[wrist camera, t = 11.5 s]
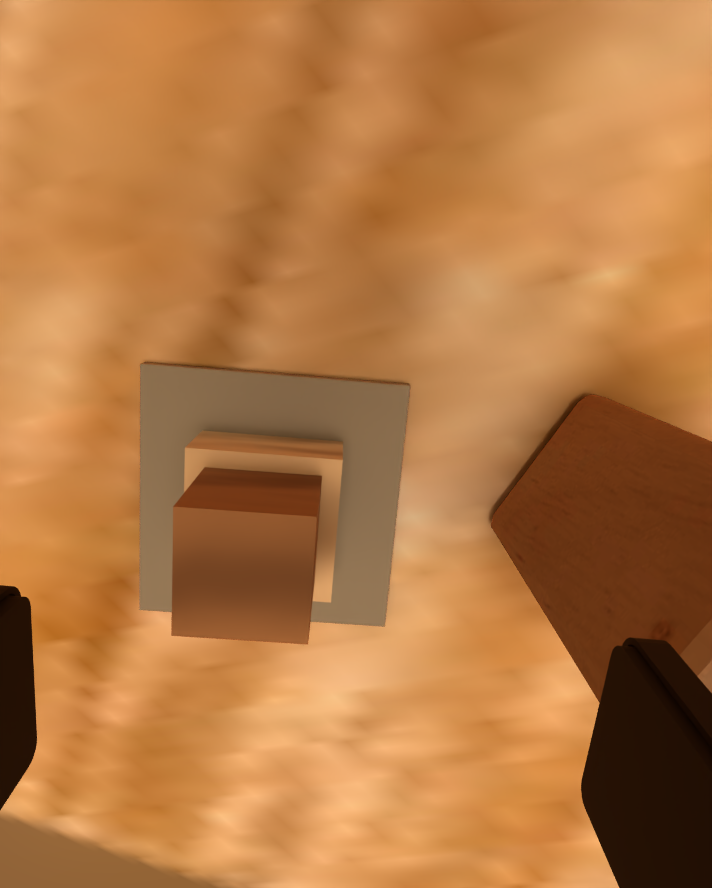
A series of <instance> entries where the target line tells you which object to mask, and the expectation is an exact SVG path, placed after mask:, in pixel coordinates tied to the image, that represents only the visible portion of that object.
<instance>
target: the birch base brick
mask: <svg viewBox="0 0 712 888" xmlns="http://www.w3.org/2000/svg"><path fill="white" fill-rule="evenodd" d="M342 463H343V442H342V441H329V440H316V439H304V438H291V437H278V436H265V435H253V434H240V433H227V432H215V431H201V432H200V433H199V434H198V435H197V436H196V437H195V438H194V439H193V440H192V441H191V442H190V443H189V444H188V445H187V446H186V447H185V469H184V492H185V491H186V490H187V489H188V487H189V486H190V485H191V484H192V482H193V481H194V480H195V479H196V477H197V476H198V475H199V474H200V472H201V471H202V470H203V469H204V467H209V468H223V469H236V470H250V471H264V472H277V473H291V474H305V475H318V476H322V485H321V499H320V513H319V527H318V541H317V555H316V569H315V583H314V592H313V601H316V602H330V603H331V596H332V584H333V572H334V560H335V548H336V536H337V524H338V511H339V499H340V487H341V475H342Z"/></svg>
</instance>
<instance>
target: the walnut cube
mask: <svg viewBox="0 0 712 888" xmlns="http://www.w3.org/2000/svg"><path fill="white" fill-rule="evenodd" d="M321 485H322V476H318V475H305V474H291V473H277V472H264V471H250V470H236V469H223V468H209V467H204V469H203V470H202V471H201V472H200V474H199V475H198V476H197V477H196V479H195V480H194V481H193V482H192V484H191V485H190V486H189V487H188V489H187V490H186V491H185V492H184V494H183V495H182V496H181V497H180V499H179V500H178V501H177V502H176V504H175V505H174V506H173V558H172V636H184V637H200V638H216V639H231V640H247V641H263V642H278V643H294V644H308V639H309V630H310V621H311V611H312V602H313V592H314V583H315V569H316V555H317V541H318V527H319V513H320V499H321Z"/></svg>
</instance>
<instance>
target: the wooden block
mask: <svg viewBox="0 0 712 888" xmlns="http://www.w3.org/2000/svg"><path fill="white" fill-rule="evenodd" d="M491 527H492V528H493V530H494V532H495V533H496V535H497V537H498V538H499V540H500V541H501V543H502V545H503V546H504V548H505V550H506V551H507V553H508V554H509V556H510V558H511V559H512V561H513V563H514V564H515V566H516V567H517V569H518V571H519V572H520V574H521V576H522V577H523V579H524V580H525V582H526V584H527V585H528V587H529V589H530V590H531V592H532V593H533V595H534V597H535V598H536V600H537V602H538V603H539V605H540V606H541V608H542V610H543V611H544V613H545V615H546V616H547V618H548V620H549V621H550V623H551V624H552V626H553V628H554V629H555V631H556V633H557V634H558V636H559V637H560V639H561V641H562V642H563V644H564V646H565V647H566V649H567V650H568V652H569V654H570V655H571V657H572V659H573V660H574V662H575V663H576V665H577V667H578V668H579V670H580V672H581V673H582V675H583V676H584V678H585V680H586V681H587V683H588V685H589V686H590V688H591V689H592V691H593V693H594V694H595V696H596V698H597V699H598V701H599V702H600V700H601V695H602V691H603V687H604V683H605V678H606V674H607V670H608V665H609V661H610V657H611V653H612V650H613V649H614V647H615V646H617V645H618V646H622V644H623V642H624V641H625V640H626V639H627V638H629V637H632V638H644V639H656V640H664V641H667V642H668V643H669V644H670V645H671V646H672V647H673V648H674V649H675V651H676V652H677V653H678V654H679V655H680V657H681V658H682V659H683V660H684V661H685V662H686V664H687V665H688V666H689V667H690V668H691V669H692V671H693V672H694V673H695V674H696V675H697V677H698V678H699V679H700V680H701V681H702V682H703V684H704V685H705V686H706V687H707V688H708V689H709V691H710V692H711V693H712V442H711V441H709V440H706V439H704V438H701V437H699V436H697V435H694V434H692V433H689V432H687V431H684V430H682V429H680V428H677V427H675V426H672V425H670V424H668V423H665V422H663V421H660V420H658V419H656V418H653V417H651V416H648V415H646V414H644V413H641V412H639V411H636V410H634V409H632V408H629V407H627V406H624V405H622V404H620V403H617V402H615V401H612V400H610V399H608V398H605V397H602V396H597V395H592V394H590V395H588V396H586V397H585V398H583V399H582V400H581V401H579V402H578V403H577V405H576V406H575V407H574V409H573V410H572V411H571V413H570V414H569V415H568V417H567V418H566V419H565V421H564V422H563V423H562V424H561V426H560V427H559V428H558V430H557V431H556V432H555V434H554V435H553V436H552V438H551V439H550V440H549V442H548V443H547V444H546V446H545V447H544V448H543V450H542V451H541V452H540V454H539V455H538V456H537V458H536V459H535V460H534V462H533V463H532V464H531V466H530V467H529V468H528V469H527V471H526V472H525V473H524V475H523V476H522V477H521V479H520V480H519V481H518V483H517V484H516V485H515V487H514V488H513V489H512V491H511V492H510V493H509V495H508V496H507V497H506V499H505V500H504V501H503V503H502V504H501V505H500V507H499V508H498V509H497V511H496V512H495V513H494V516H493V520H492V523H491Z"/></svg>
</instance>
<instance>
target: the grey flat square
mask: <svg viewBox="0 0 712 888" xmlns="http://www.w3.org/2000/svg"><path fill="white" fill-rule="evenodd" d="M409 394H410V385H409V384H403V383H391V382H379V381H367V380H355V379H343V378H331V377H319V376H306V375H294V374H282V373H270V372H258V371H246V370H234V369H221V368H209V367H197V366H185V365H173V364H161V363H149V362H144V363H141V364H140V610H149V611H163V612H172V558H173V506H174V505H175V504H176V502H177V501H178V500H179V499H180V497H181V496H182V495H183V494H184V469H185V447H186V446H187V445H188V444H189V443H190V442H191V441H192V440H193V439H194V438H195V437H196V436H197V435H198V434H199V433H200V432H201V431H215V432H227V433H240V434H253V435H265V436H278V437H291V438H304V439H316V440H329V441H342V442H343V463H342V475H341V487H340V499H339V511H338V524H337V536H336V548H335V560H334V572H333V584H332V596H331V603H330V602H316V601H313V602H312V611H311V621H310V622H324V623H339V624H353V625H368V626H382V627H385V620H386V610H387V601H388V591H389V582H390V573H391V563H392V554H393V544H394V535H395V526H396V516H397V507H398V497H399V488H400V478H401V469H402V460H403V450H404V441H405V431H406V422H407V413H408V403H409Z"/></svg>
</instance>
